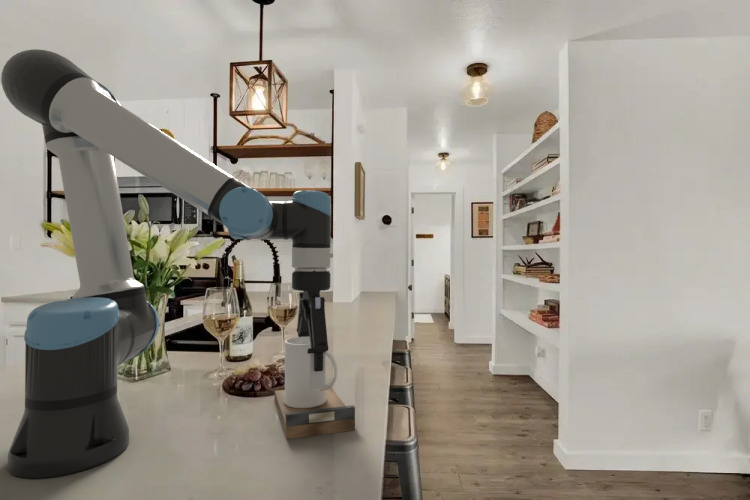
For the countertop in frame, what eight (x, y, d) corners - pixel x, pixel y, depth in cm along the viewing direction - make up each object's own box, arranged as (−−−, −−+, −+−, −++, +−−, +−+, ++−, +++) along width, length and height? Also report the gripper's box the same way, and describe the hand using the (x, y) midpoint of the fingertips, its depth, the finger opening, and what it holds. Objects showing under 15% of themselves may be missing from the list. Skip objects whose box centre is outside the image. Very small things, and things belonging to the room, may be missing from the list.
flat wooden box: (286, 439, 71) (286, 415, 71) (274, 400, 90) (274, 381, 90) (355, 430, 75) (355, 407, 75) (329, 394, 94) (330, 376, 94)
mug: (348, 402, 83) (348, 341, 83) (318, 416, 76) (319, 349, 76) (305, 391, 90) (305, 334, 90) (274, 402, 83) (274, 341, 83)
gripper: (346, 272, 73) (345, 395, 73) (317, 267, 97) (317, 361, 97) (302, 272, 71) (301, 400, 70) (284, 268, 94) (283, 363, 94)
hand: (310, 377), depth 83 cm, fingers open, 13 cm apart
